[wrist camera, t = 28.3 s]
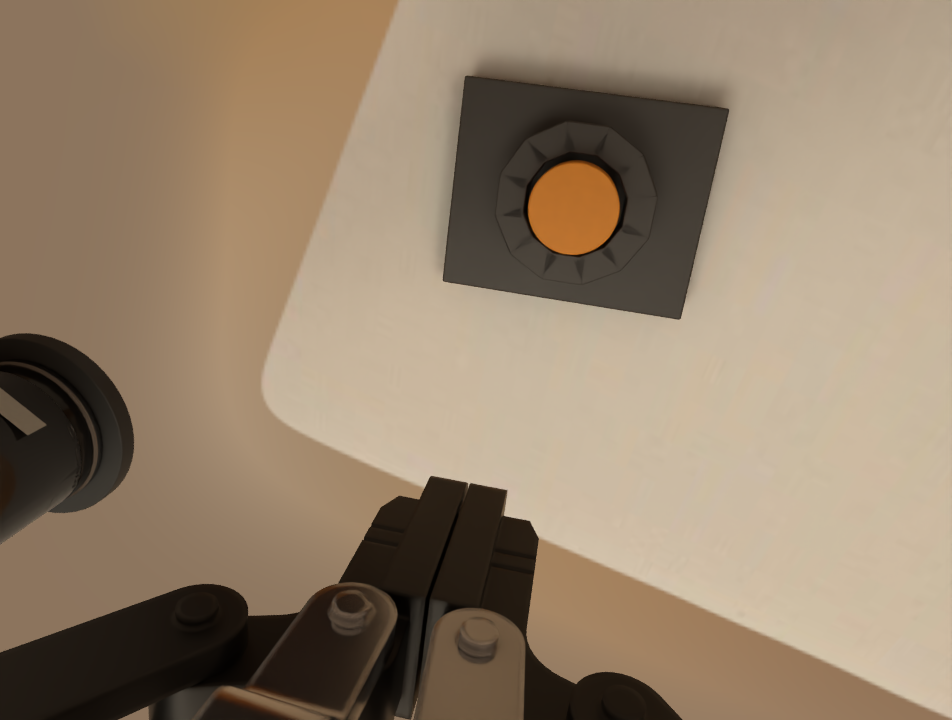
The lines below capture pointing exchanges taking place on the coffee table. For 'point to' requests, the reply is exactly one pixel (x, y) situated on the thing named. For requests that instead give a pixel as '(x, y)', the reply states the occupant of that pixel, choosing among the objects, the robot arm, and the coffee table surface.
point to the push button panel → (604, 144)
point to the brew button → (574, 207)
